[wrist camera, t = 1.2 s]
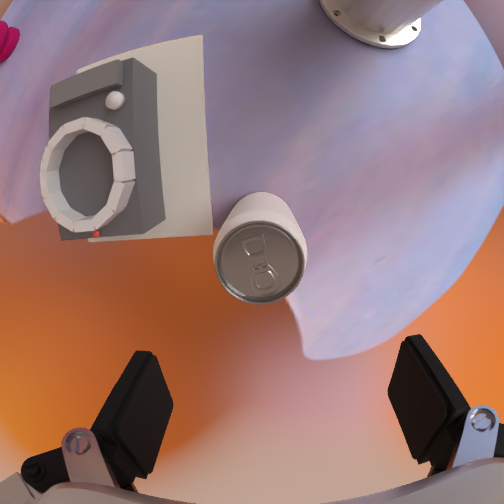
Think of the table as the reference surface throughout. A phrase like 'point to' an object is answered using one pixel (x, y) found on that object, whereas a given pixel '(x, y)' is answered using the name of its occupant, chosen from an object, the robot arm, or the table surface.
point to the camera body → (104, 153)
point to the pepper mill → (7, 40)
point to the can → (260, 250)
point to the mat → (177, 136)
